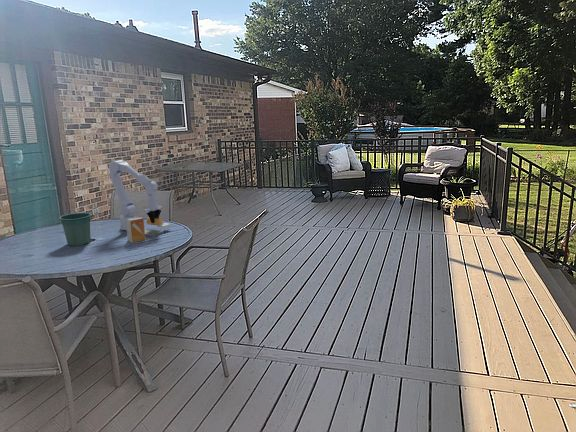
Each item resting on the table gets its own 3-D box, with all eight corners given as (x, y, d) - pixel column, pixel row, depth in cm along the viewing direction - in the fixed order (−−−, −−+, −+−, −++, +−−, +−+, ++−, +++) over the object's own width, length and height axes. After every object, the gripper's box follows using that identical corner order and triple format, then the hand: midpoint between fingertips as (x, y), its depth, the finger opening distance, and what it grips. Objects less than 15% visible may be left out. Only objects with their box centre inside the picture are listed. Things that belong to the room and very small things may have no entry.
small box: (132, 242, 250) (130, 220, 247) (127, 240, 254) (125, 218, 252) (145, 239, 255) (143, 218, 253) (140, 238, 260) (138, 216, 257)
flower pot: (82, 247, 243) (78, 219, 239) (56, 246, 246) (52, 218, 243) (100, 239, 259) (97, 212, 255) (75, 238, 262) (72, 212, 258)
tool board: (127, 234, 269) (127, 232, 269) (139, 230, 278) (138, 228, 278) (152, 237, 261) (152, 235, 261) (164, 233, 270) (163, 231, 270)
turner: (144, 225, 277) (144, 218, 276) (152, 222, 283) (152, 216, 283) (163, 227, 271) (163, 221, 270) (171, 224, 277) (170, 218, 276)
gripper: (149, 203, 267) (151, 225, 270) (165, 199, 280) (167, 220, 283) (140, 202, 270) (142, 224, 273) (156, 198, 283) (158, 219, 286)
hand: (154, 222), depth 278 cm, fingers closed on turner, 3 cm apart
